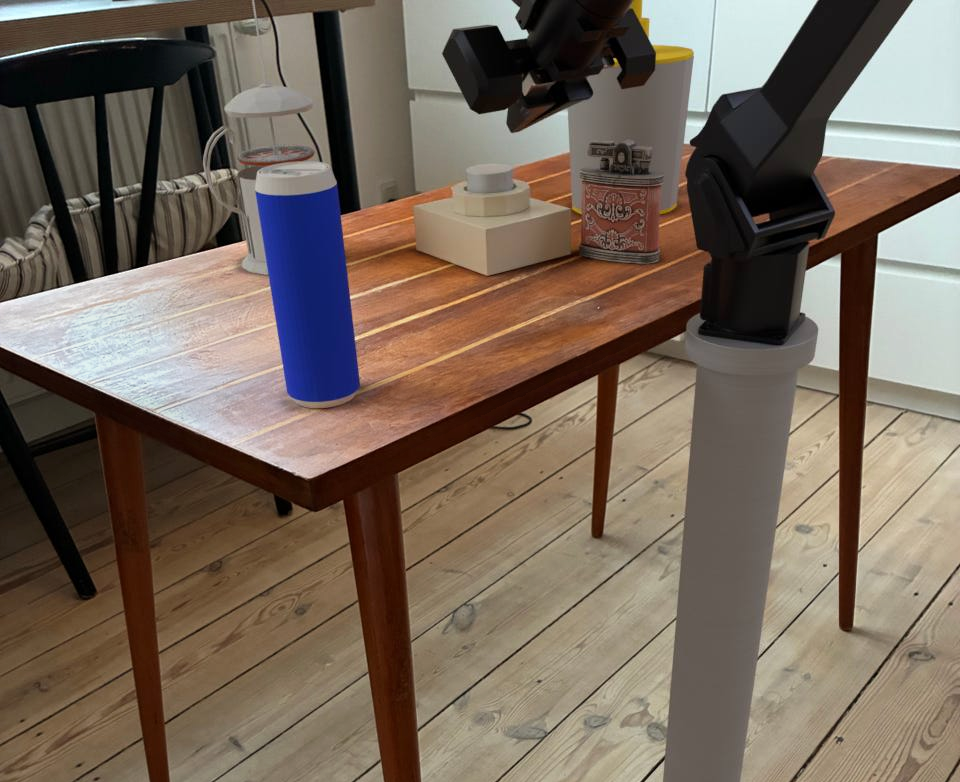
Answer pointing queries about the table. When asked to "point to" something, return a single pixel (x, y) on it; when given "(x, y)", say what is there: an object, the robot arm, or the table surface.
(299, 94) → the french press
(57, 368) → the table surface
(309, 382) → the beverage can
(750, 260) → the robot arm
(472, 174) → the grey push button
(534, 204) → the push button base
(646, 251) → the lighter
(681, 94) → the white tapered piece
